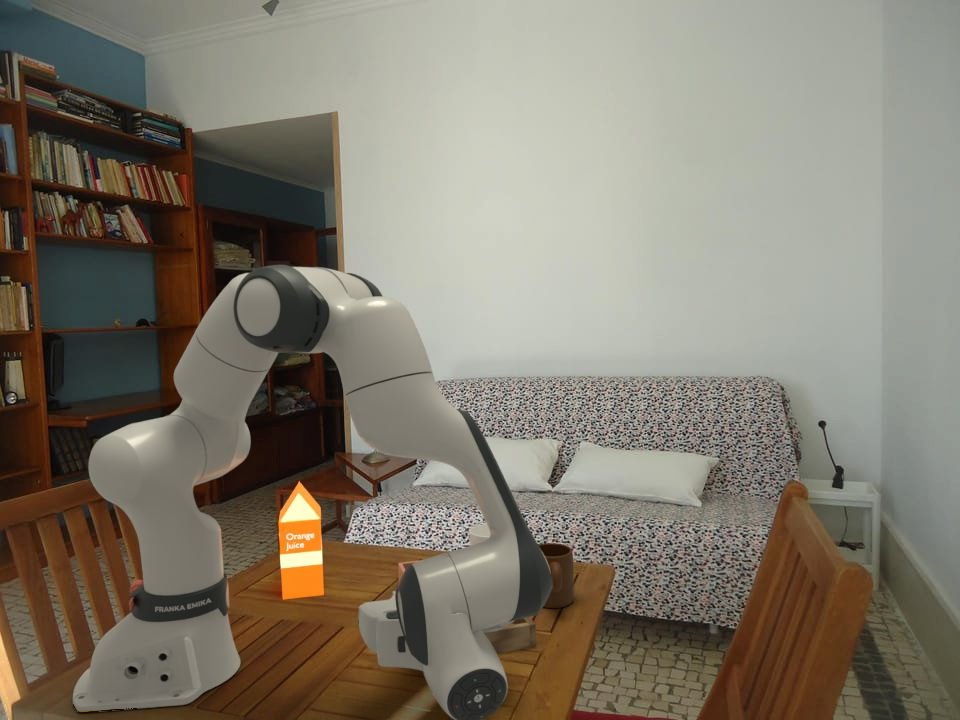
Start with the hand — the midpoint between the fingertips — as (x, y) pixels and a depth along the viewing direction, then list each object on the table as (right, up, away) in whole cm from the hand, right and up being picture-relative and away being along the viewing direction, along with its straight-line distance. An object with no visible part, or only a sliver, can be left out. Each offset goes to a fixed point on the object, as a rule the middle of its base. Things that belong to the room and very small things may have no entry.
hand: (421, 592), depth 108 cm
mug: (+22, -9, +21) cm, 32 cm away
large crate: (+10, -11, +10) cm, 18 cm away
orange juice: (-25, -10, +32) cm, 42 cm away
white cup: (+11, -8, +33) cm, 36 cm away
